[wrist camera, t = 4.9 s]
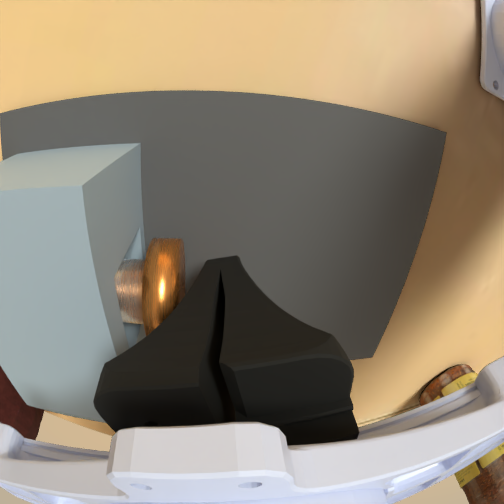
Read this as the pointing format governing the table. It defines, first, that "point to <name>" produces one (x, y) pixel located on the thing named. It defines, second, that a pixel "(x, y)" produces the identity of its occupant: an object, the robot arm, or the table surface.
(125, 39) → the table surface
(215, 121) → the mat
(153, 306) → the pin
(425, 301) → the table surface
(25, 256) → the block
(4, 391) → the mate gourd
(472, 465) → the sauce bottle
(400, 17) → the table surface
